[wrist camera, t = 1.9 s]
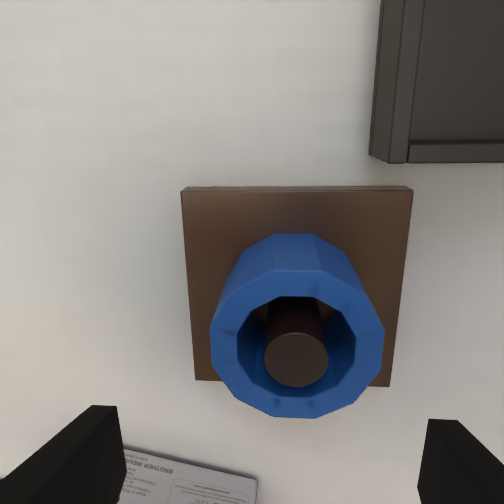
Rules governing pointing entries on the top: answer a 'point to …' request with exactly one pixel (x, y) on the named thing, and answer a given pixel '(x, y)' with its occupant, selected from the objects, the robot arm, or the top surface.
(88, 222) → the top surface
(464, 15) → the tray
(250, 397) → the tape roll
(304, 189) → the tape holder
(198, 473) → the ink cartridge box
